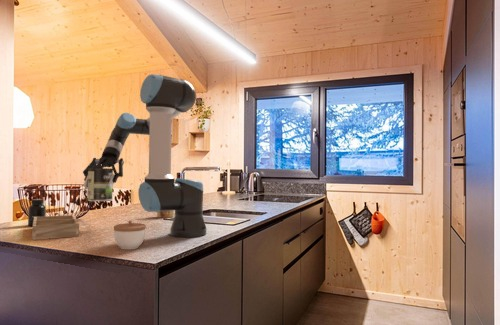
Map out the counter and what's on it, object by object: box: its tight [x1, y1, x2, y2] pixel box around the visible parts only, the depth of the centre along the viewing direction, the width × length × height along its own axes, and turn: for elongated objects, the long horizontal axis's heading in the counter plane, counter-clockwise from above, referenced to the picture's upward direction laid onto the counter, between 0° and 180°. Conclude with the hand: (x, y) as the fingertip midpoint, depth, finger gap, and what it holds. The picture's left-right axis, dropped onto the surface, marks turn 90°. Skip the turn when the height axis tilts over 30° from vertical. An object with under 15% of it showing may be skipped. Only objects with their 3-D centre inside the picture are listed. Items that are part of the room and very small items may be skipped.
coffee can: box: [87, 167, 114, 202], centre depth 158 cm, size 10×10×14 cm
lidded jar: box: [113, 220, 147, 250], centre depth 126 cm, size 11×11×9 cm
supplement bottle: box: [27, 198, 47, 227], centre depth 166 cm, size 7×7×12 cm
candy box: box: [156, 210, 175, 218], centre depth 198 cm, size 9×4×15 cm, turn 103°
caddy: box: [31, 214, 80, 241], centre depth 151 cm, size 26×16×5 cm, turn 30°
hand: (97, 187), depth 155 cm, fingers closed on coffee can, 10 cm apart
